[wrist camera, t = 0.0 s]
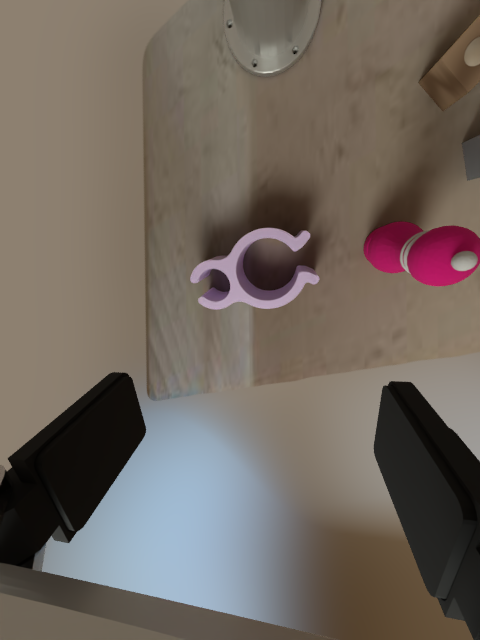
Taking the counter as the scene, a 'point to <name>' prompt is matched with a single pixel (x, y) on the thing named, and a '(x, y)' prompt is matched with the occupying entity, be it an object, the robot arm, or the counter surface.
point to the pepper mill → (424, 252)
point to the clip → (238, 281)
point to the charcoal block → (472, 157)
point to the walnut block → (455, 69)
